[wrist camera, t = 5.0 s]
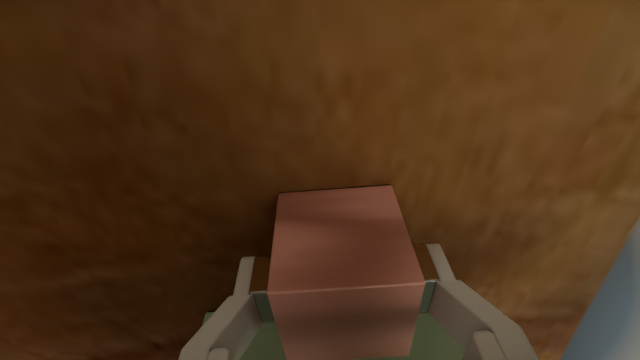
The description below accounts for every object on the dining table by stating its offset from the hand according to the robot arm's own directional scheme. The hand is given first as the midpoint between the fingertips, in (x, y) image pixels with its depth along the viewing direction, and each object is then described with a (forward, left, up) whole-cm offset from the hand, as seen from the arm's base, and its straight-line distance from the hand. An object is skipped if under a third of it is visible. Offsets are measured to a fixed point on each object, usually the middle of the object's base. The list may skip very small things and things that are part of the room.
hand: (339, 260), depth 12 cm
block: (0, 0, -2) cm, 2 cm away
